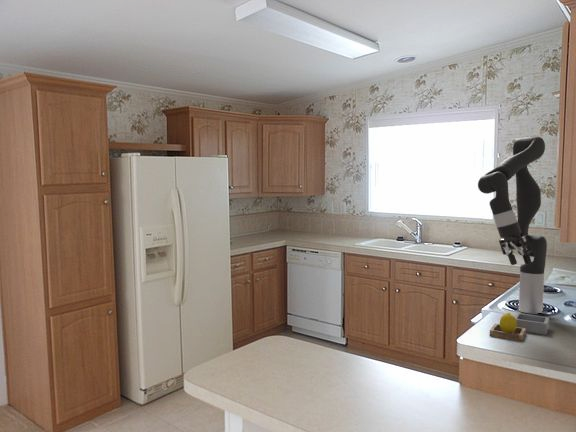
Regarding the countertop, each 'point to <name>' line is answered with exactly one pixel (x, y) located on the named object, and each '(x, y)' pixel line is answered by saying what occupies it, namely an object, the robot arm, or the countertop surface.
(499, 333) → the cradle
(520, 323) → the holder
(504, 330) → the lemon
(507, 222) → the robot arm
